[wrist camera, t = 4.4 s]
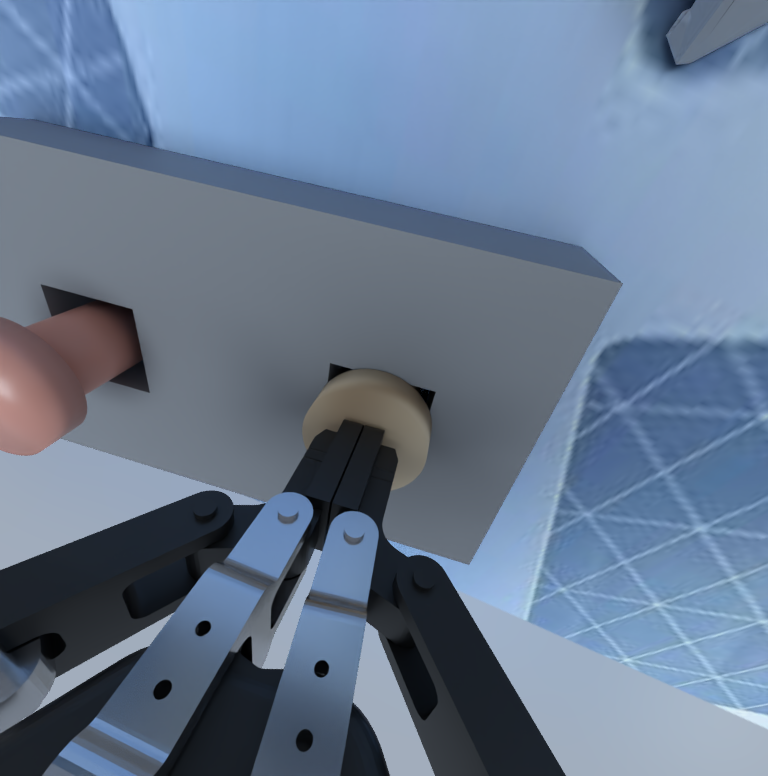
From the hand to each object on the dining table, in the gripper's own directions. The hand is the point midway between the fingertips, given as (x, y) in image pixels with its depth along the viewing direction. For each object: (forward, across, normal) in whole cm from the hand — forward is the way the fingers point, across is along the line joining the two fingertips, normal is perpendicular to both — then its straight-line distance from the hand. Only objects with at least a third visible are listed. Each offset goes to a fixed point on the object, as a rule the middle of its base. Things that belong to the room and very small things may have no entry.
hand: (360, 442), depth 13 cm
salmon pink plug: (+3, +12, 0) cm, 12 cm away
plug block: (+7, +6, 0) cm, 9 cm away
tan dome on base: (+6, 0, 0) cm, 6 cm away
